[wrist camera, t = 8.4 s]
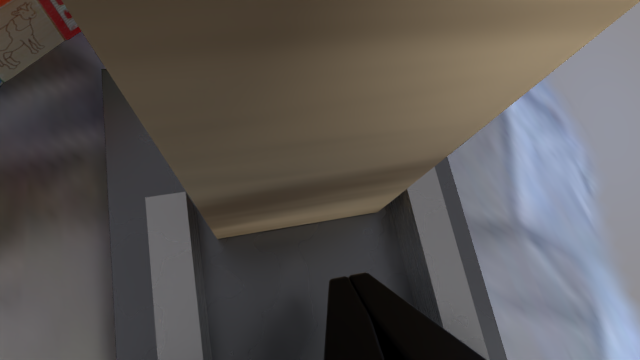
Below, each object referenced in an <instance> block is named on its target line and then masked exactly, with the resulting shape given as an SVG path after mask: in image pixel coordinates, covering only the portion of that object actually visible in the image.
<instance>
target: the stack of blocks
mask: <svg viewBox="0 0 640 360" xmlns="http://www.w3.org/2000/svg"><path fill="white" fill-rule="evenodd" d="M79 32H81V30H80V28H79V26H78V25H77V23H76V22H75V20H74V19H73V17H72V16H71V14H70V13H69V11H68V10H67V8H66V7H65V5H64V4H63V2H62V0H0V86H1V85H2V84H3V83H4V82H6V81H8V80H10V79H11V78H13V77H14V76H16V75H17V74H18V73H20V72H21V71H23V70H24V69H25V68H27V67H28V66H29V65H31V64H32V63H34V62H35V61H37V60H38V59H40V58H41V57H42V56H44V55H45V54H47V53H48V52H50V51H51V50H52V49H54V48H55V47H57V46H58V45H59V44H61V43H62V42H63V41H65V40H69V39H71V38H72V37H73V36H75V35H76V34H78V33H79Z"/></svg>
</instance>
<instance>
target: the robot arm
mask: <svg viewBox="0 0 640 360" xmlns="http://www.w3.org/2000/svg"><path fill="white" fill-rule="evenodd" d="M323 360H487V359H485V358H484V357H482V356H481V355H480V354H478V353H477V352H476V351H474V350H473V349H471V348H470V347H469V346H467V345H466V344H465V343H463V342H462V341H460V340H459V339H458V338H456V337H455V336H454V335H452V334H451V333H450V332H448V331H447V330H445V329H444V328H443V327H441V326H440V325H439V324H437V323H436V322H434V321H433V320H432V319H430V318H429V317H428V316H426V315H425V314H424V313H422V312H421V311H419V310H418V309H417V308H415V307H414V306H413V305H411V304H410V303H408V302H407V301H406V300H404V299H403V298H402V297H400V296H399V295H397V294H396V293H395V292H393V291H392V290H391V289H389V288H388V287H387V286H385V285H384V284H382V283H381V282H380V281H378V280H377V279H376V278H374V277H373V276H371V275H370V274H369V273H366V272H363V273H358V274H353V275H350V276H349V277H346V276H343V277H338V278H333V279H330V281H329V288H328V302H327V317H326V331H325V345H324V359H323Z"/></svg>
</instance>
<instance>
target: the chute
mask: <svg viewBox="0 0 640 360" xmlns="http://www.w3.org/2000/svg"><path fill="white" fill-rule="evenodd" d="M101 70H102V89H103V108H104V127H105V147H106V166H107V185H108V204H109V224H110V243H111V262H112V281H113V300H114V320H115V339H116V358H117V360H323V359H324V345H325V331H326V317H327V302H328V288H329V281H330V279H333V278H338V277H343V276H346V277H349V276H350V275H353V274H358V273H363V272H366V273H369V274H370V275H371V276H373V277H374V278H376V279H377V280H378V281H380V282H381V283H382V284H384V285H385V286H387V287H388V288H389V289H391V290H392V291H393V292H395V293H396V294H397V295H399V296H400V297H402V298H403V299H404V300H406V301H407V302H408V303H410V304H411V305H413V306H414V307H415V308H417V309H418V310H419V311H421V312H422V313H424V314H425V315H426V316H428V317H429V318H430V319H432V320H433V321H434V322H436V323H437V324H439V325H440V326H441V327H443V328H444V329H445V330H447V331H448V332H450V333H451V334H452V335H454V336H455V337H456V338H458V339H459V340H460V341H462V342H463V343H465V344H466V345H467V346H469V347H470V348H471V349H473V350H474V351H476V352H477V353H478V354H480V355H481V356H482V357H484V358H485V359H487V360H507V358H506V354H505V351H504V347H503V344H502V341H501V337H500V334H499V331H498V327H497V324H496V320H495V317H494V314H493V310H492V307H491V304H490V300H489V297H488V293H487V290H486V287H485V283H484V280H483V277H482V273H481V270H480V266H479V263H478V260H477V256H476V253H475V250H474V246H473V243H472V239H471V236H470V233H469V229H468V226H467V223H466V219H465V216H464V212H463V209H462V206H461V202H460V199H459V196H458V192H457V189H456V185H455V182H454V179H453V175H452V172H451V169H450V165H449V162H448V158H447V157H446V158H444V159H443V160H442V161H441V162H440V163H438V164H437V165H436V166H435V167H433V168H432V169H431V170H430V171H428V172H427V173H426V174H425V175H423V176H422V177H421V178H420V179H418V180H417V181H416V182H415V183H413V184H412V185H411V186H410V187H408V188H407V189H406V190H405V191H404V192H402V193H401V194H400V195H399V196H397V197H396V198H395V199H394V200H392V201H391V202H390V203H389V204H387V205H386V206H385V207H384V208H382V209H381V210H380V211H379V212H375V213H369V214H363V215H358V216H352V217H346V218H340V219H334V220H328V221H322V222H316V223H310V224H304V225H298V226H292V227H286V228H280V229H274V230H268V231H262V232H256V233H250V234H244V235H238V236H232V237H226V238H220V239H217V238H216V236H215V235H214V233H213V232H212V230H211V229H210V227H209V226H208V224H207V223H206V221H205V220H204V218H203V216H202V215H201V213H200V212H199V210H198V209H197V207H196V206H195V204H194V203H193V201H192V200H191V198H190V197H189V195H188V194H187V192H186V190H185V189H184V187H183V186H182V184H181V183H180V181H179V180H178V178H177V177H176V175H175V174H174V172H173V171H172V169H171V167H170V166H169V164H168V163H167V161H166V160H165V158H164V157H163V155H162V154H161V152H160V151H159V149H158V148H157V146H156V144H155V143H154V141H153V140H152V138H151V137H150V135H149V134H148V132H147V131H146V129H145V128H144V126H143V125H142V123H141V121H140V120H139V118H138V117H137V115H136V114H135V112H134V111H133V109H132V108H131V106H130V105H129V103H128V102H127V100H126V99H125V97H124V95H123V94H122V92H121V91H120V89H119V88H118V86H117V85H116V83H115V82H114V80H113V79H112V77H111V76H110V74H109V72H108V71H107V69H101Z"/></svg>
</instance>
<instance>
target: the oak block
mask: <svg viewBox="0 0 640 360" xmlns="http://www.w3.org/2000/svg"><path fill="white" fill-rule="evenodd" d="M639 1H640V0H62V2H63V4H64V5H65V7H66V8H67V10H68V11H69V13H70V14H71V16H72V17H73V19H74V20H75V22H76V23H77V25H78V26H79V28H80V30H81V31H82V33H83V34H84V36H85V37H86V39H87V40H88V42H89V43H90V45H91V46H92V48H93V49H94V51H95V53H96V54H97V56H98V57H99V59H100V60H101V62H102V63H103V65H104V66H105V68H106V69H107V71H108V72H109V74H110V76H111V77H112V79H113V80H114V82H115V83H116V85H117V86H118V88H119V89H120V91H121V92H122V94H123V95H124V97H125V99H126V100H127V102H128V103H129V105H130V106H131V108H132V109H133V111H134V112H135V114H136V115H137V117H138V118H139V120H140V121H141V123H142V125H143V126H144V128H145V129H146V131H147V132H148V134H149V135H150V137H151V138H152V140H153V141H154V143H155V144H156V146H157V148H158V149H159V151H160V152H161V154H162V155H163V157H164V158H165V160H166V161H167V163H168V164H169V166H170V167H171V169H172V171H173V172H174V174H175V175H176V177H177V178H178V180H179V181H180V183H181V184H182V186H183V187H184V189H185V190H186V192H187V194H188V195H189V197H190V198H191V200H192V201H193V203H194V204H195V206H196V207H197V209H198V210H199V212H200V213H201V215H202V216H203V218H204V220H205V221H206V223H207V224H208V226H209V227H210V229H211V230H212V232H213V233H214V235H215V236H216V238H217V239H220V238H226V237H232V236H238V235H244V234H250V233H256V232H262V231H268V230H274V229H280V228H286V227H292V226H298V225H304V224H310V223H316V222H322V221H328V220H334V219H340V218H346V217H352V216H358V215H363V214H369V213H375V212H379V211H380V210H381V209H382V208H384V207H385V206H386V205H387V204H389V203H390V202H391V201H392V200H394V199H395V198H396V197H397V196H399V195H400V194H401V193H402V192H404V191H405V190H406V189H407V188H408V187H410V186H411V185H412V184H413V183H415V182H416V181H417V180H418V179H420V178H421V177H422V176H423V175H425V174H426V173H427V172H428V171H430V170H431V169H432V168H433V167H435V166H436V165H437V164H438V163H440V162H441V161H442V160H443V159H444V158H446V157H447V156H448V155H449V154H451V153H452V152H453V151H454V150H456V149H457V148H458V147H459V146H461V145H462V144H463V143H464V142H466V141H467V140H468V139H469V138H471V137H472V136H473V135H474V134H476V133H477V132H478V131H479V130H481V129H482V128H483V127H484V126H485V125H487V124H488V123H489V122H490V121H492V120H493V119H494V118H495V117H497V116H498V115H499V114H500V113H502V112H503V111H504V110H505V109H507V108H508V107H509V106H510V105H512V104H513V103H514V102H515V101H517V100H518V99H519V98H520V97H522V96H523V95H524V94H525V93H526V92H528V91H529V90H530V89H531V88H533V87H534V86H535V85H536V84H538V83H539V82H540V81H541V80H543V79H544V78H545V77H546V76H548V75H549V74H550V73H551V72H553V71H554V70H555V69H556V68H557V67H559V66H560V65H561V64H562V63H564V62H565V61H566V60H567V59H569V58H570V57H571V56H572V55H574V54H575V53H576V52H577V51H579V50H580V49H581V48H582V47H584V46H585V45H586V44H587V43H588V42H590V41H591V40H592V39H594V37H596V36H597V35H599V34H600V33H601V32H602V31H603V30H605V29H606V28H607V27H608V26H610V25H611V24H612V23H613V22H615V21H616V20H617V19H618V18H620V17H621V16H622V15H623V14H624V13H626V12H627V11H628V10H630V9H631V8H632V7H633V6H634V5H636V4H637V3H638V2H639Z"/></svg>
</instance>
